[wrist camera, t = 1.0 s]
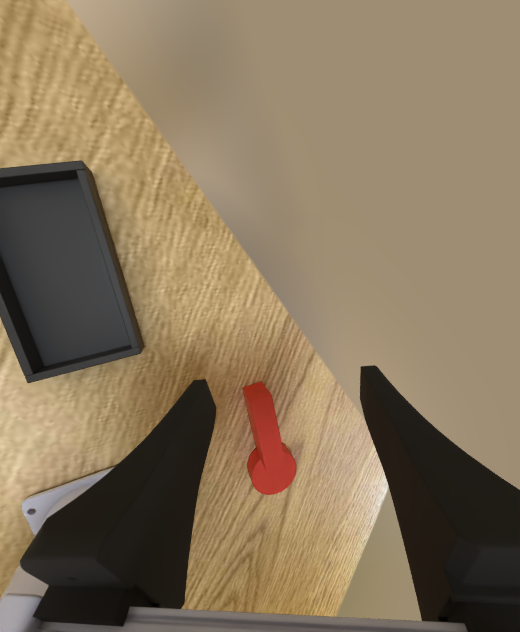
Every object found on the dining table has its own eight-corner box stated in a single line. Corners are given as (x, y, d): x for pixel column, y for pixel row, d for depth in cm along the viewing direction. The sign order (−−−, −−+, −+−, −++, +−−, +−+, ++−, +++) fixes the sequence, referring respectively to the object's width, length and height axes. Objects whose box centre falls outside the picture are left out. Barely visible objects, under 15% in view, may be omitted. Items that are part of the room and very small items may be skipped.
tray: (144, 346, 21) (141, 353, 19) (41, 373, 19) (27, 383, 17) (91, 171, 18) (81, 160, 16) (-34, 184, 17) (-60, 173, 15)
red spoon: (228, 391, 23) (235, 406, 21) (274, 377, 24) (285, 390, 22) (252, 488, 26) (260, 513, 23) (293, 471, 26) (306, 493, 24)
